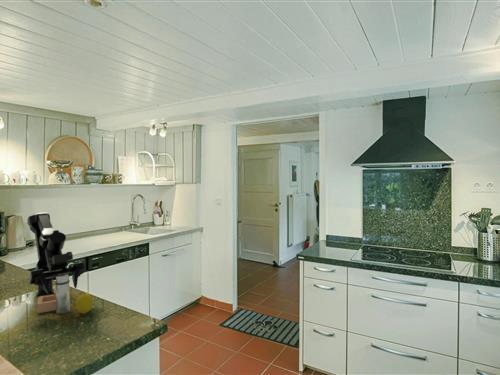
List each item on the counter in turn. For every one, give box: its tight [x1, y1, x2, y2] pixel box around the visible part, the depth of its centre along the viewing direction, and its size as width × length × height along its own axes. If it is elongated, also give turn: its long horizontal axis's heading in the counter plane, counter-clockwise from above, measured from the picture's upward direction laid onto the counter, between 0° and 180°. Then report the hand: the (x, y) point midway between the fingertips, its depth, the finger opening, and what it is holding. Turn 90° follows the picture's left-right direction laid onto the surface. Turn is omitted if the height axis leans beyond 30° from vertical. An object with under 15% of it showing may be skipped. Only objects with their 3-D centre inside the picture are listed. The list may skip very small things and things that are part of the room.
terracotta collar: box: [36, 293, 56, 314], centre depth 124 cm, size 9×9×4 cm
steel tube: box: [55, 273, 71, 315], centre depth 119 cm, size 5×5×14 cm
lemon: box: [75, 292, 94, 315], centre depth 116 cm, size 6×6×8 cm
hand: (62, 290), depth 119 cm, fingers open, 9 cm apart
